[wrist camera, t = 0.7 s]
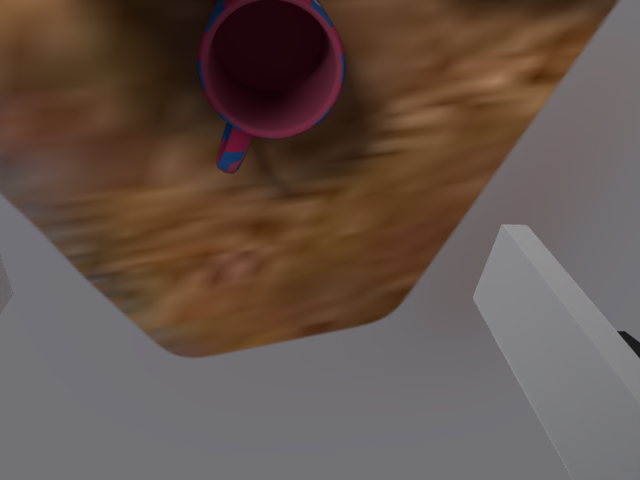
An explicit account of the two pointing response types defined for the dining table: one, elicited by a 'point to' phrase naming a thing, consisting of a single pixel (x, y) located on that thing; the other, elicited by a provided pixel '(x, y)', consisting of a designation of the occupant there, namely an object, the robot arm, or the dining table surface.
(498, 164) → the dining table surface
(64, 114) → the dining table surface
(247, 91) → the mug
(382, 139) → the dining table surface
